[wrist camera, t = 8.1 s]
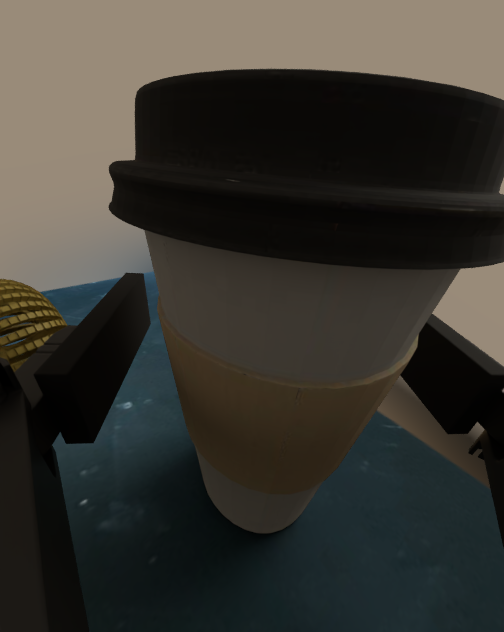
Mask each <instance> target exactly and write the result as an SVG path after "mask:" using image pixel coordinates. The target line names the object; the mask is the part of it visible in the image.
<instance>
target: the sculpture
mask: <svg viewBox="0 0 504 632" xmlns="http://www.w3.org/2000/svg"><path fill="white" fill-rule="evenodd" d="M0 309H1V310H0V318H1V317H4V316H11V315H17V316H14V317H9V318H7V319H6V318H4V319H1V320H0V334H1V335H0V336H3V335H6V334H8V335H7V337H6V336H4V337H3V338H2V337H1V338H0V357H1V358H4V359H7V360H8V362H9V364H10V365H11V367H12V369H13V371H14V372H15V371H16V370H17V369H18V368H19V367H20V366H21V365H22V364H23V363H24V362H25V361H26V360H27V359H28V358H29V357H30V356H31V355H32V354H33V353H36V350H37V349H38V348H39V347H40V346H41V345H44V342H45V341H47V340H48V339H49V338H50V337H51V336H52V335H53V334H54V333H55V332H57V331H59V330H61V329H63V328H64V327H66V326H67V324H66V322H64V319H63V318H62V316H60V313H59V312H58V311H57V309H56V308H55V307H54V306H53V304H52V303H51V302H49V300H48V299H47V298H45V297H44V296H43V295H42V294H41V293H40V292H38V291H36V290H35V289H33V288H32V287H29V286H28V285H25V284H23V283H19V282H16V281H13V280H6V279H0ZM23 322H24V323H26V322H28V323H29V324H22V323H23ZM31 323H34V324H31ZM10 324H11V325H10ZM17 324H18V325H17ZM19 324H22V325H19ZM14 325H15V326H14ZM16 325H17V326H16ZM20 330H21V331H20ZM15 331H16V332H17V331H18V332H17V334H16V332H15ZM13 332H14V333H13ZM9 333H11V334H10V335H9ZM12 333H13V334H12ZM24 338H25V340H23V341H21V342H19V343H17V344H13V345H10V346H5V345H7V344H10V343H13V342H16V341H19V340H22V339H24ZM26 338H27V339H26ZM2 346H3V347H2ZM22 354H23V355H22ZM18 356H19V357H18ZM26 358H27V359H26ZM24 359H25V360H24ZM16 360H17V361H16Z"/></svg>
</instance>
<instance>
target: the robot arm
mask: <svg viewBox="0 0 504 632" xmlns="http://www.w3.org/2000/svg"><path fill="white" fill-rule="evenodd" d="M150 324H151V323H150V316H149V309H148V302H147V295H146V288H145V281H144V274H142V273H126V274H125V275H124V276H123V277H122V278H121V279H120V280H119V281H118V282H117V283H116V284H115V286H114V287H113V288H112V289H111V290H110V291H109V292H108V293H107V294H106V295H105V296H104V298H103V299H102V300H101V301H100V302H99V303H98V304H97V305H96V306H95V307H94V308H93V310H92V311H91V312H90V313H89V314H88V315H87V316H86V317H85V318H84V319H83V321H82V322H81V323H80V324H79V325H78V326H71V325H68V326H66V327H64V328H63V329H61V330H59V331H57V332H55V333H54V334H53V335H52V336H51V337H50V338H49V339H48V340H47V341H45V342H44V345H41V346H40V347H39V348H38V349H37V350H36V353H33V354H32V355H31V356H30V357H29V358H28V359H27V360H26V361H25V362H24V363H23V364H22V365H21V366H20V367H19V368H18V369H17V370H16V371H15V372H14V371H13V369H12V367H11V365H10V364H9V362H8V360H7V359H4V358H1V357H0V632H89V627H88V622H87V617H86V611H85V606H84V601H83V595H82V590H81V585H80V579H79V574H78V569H77V563H76V558H75V553H74V547H73V542H72V537H71V531H70V526H69V521H68V515H67V510H66V505H65V499H64V494H63V489H62V483H61V478H60V473H59V467H58V462H57V457H56V452H55V450H54V448H53V446H52V444H53V442H54V441H55V439H56V437H57V436H58V434H59V433H60V432H61V434H62V436H63V438H64V440H65V443H66V444H77V443H94V441H95V439H96V437H97V435H98V433H99V431H100V429H101V426H102V424H103V422H104V420H105V418H106V416H107V414H108V412H109V410H110V408H111V406H112V403H113V401H114V399H115V397H116V395H117V393H118V391H119V389H120V387H121V385H122V382H123V380H124V378H125V376H126V374H127V372H128V370H129V368H130V366H131V364H132V362H133V359H134V357H135V355H136V353H137V351H138V349H139V347H140V345H141V343H142V341H143V339H144V336H145V334H146V332H147V330H148V328H149V326H150ZM400 375H401V377H402V378H403V379H404V380H405V382H406V383H407V384H408V385H409V387H410V388H411V389H412V390H413V392H414V393H415V394H416V395H417V396H418V398H419V399H420V400H421V401H422V403H423V404H424V405H425V406H426V408H427V409H428V410H429V411H430V413H431V414H432V415H433V416H434V418H435V419H436V420H437V421H438V423H439V424H440V425H441V426H442V428H443V429H444V430H445V431H446V432H447V434H468V433H469V431H470V430H471V429H472V428H473V426H474V425H475V424H476V423H477V422H478V423H479V424H480V425H481V426H482V427H483V428H484V429H485V430H484V431H483V433H482V434H481V435H480V436H479V437H478V439H477V440H476V441H475V442H474V443H473V445H472V446H471V447H470V448H469V454H471V455H473V453H474V452H475V451H476V450H477V449H482V452H481V453H480V455H479V456H478V457H479V458H481V459H483V460H484V461H485V465H486V470H487V474H488V479H489V484H490V488H491V493H492V497H493V502H494V506H495V511H496V515H497V520H498V524H499V529H500V534H501V538H502V543H503V547H504V367H503V366H502V365H501V364H499V363H498V362H497V361H495V360H494V359H493V358H491V357H489V356H488V355H487V354H486V353H485V352H483V351H482V350H480V349H479V348H478V347H477V346H475V345H474V344H473V343H471V342H470V341H469V340H467V339H465V338H464V337H463V336H461V335H460V334H459V333H457V332H456V331H455V330H453V329H452V328H451V327H449V326H448V325H447V324H445V323H444V322H443V321H441V320H440V319H439V318H437V317H436V316H434V315H433V314H431V315H430V317H429V318H428V320H427V322H426V323H425V325H424V326H423V328H422V329H421V331H420V332H419V336H418V345H417V348H416V350H415V352H414V354H413V355H412V357H411V359H410V361H409V362H408V364H407V366H406V367H405V369H404V370H403V371H402V373H401V374H400Z"/></svg>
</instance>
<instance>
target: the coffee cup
mask: <svg viewBox="0 0 504 632" xmlns="http://www.w3.org/2000/svg"><path fill="white" fill-rule="evenodd" d="M135 145H136V146H135V147H136V148H135V149H136V155H135V160H130V161H116V162H113V163H112V164H111V165H110V166H109V173H110V175H111V178H112V180H113V182H114V191H113V196H112V202H111V203H110V204H109V210H110V211H111V213H112V214H113V215H115V216H116V217H117V218H119V219H121V220H122V221H125V222H126V223H128V224H131V225H133V226H136V227H138V228H141V229H143V230H145V234H146V239H147V243H148V247H149V252H150V256H151V260H152V264H153V269H154V273H155V277H156V282H157V286H158V290H159V297H158V307H157V310H158V315H159V319H160V323H161V327H162V331H163V335H164V339H165V343H166V347H167V351H168V355H169V359H170V363H171V367H172V371H173V375H174V379H175V383H176V387H177V391H178V395H179V399H180V403H181V407H182V411H183V415H184V419H185V423H186V426H187V429H188V432H189V435H190V438H191V440H192V441H193V443H194V445H195V448H196V452H197V456H198V460H199V464H200V468H201V472H202V476H203V481H204V484H205V487H206V490H207V493H208V495H209V497H210V498H211V500H212V502H213V504H214V505H215V506H216V507H217V509H218V510H219V511H220V512H221V513H222V515H224V516H225V517H226V518H227V519H228V520H230V521H231V522H232V523H233V524H235V525H237V526H239V527H241V528H243V529H244V530H248V531H251V532H255V533H273V532H276V531H279V530H282V529H284V528H285V527H287V526H289V525H290V524H292V523H293V522H294V521H295V520H296V519H297V518H298V517H299V516H300V515H301V514H302V512H303V511H304V509H305V508H306V506H307V505H308V503H309V502H310V500H311V499H312V497H313V496H314V494H315V493H316V491H317V490H318V488H319V487H320V485H321V484H322V482H323V481H324V480H326V479H327V478H328V477H329V476H330V475H331V474H332V473H333V472H334V471H335V470H336V469H337V468H338V466H339V465H340V463H341V462H342V460H343V459H344V457H345V456H346V454H347V453H348V451H349V450H350V448H351V447H352V446H353V444H354V443H355V441H356V440H357V438H358V437H359V435H360V434H361V432H362V431H363V429H364V428H365V426H366V425H367V423H368V422H369V420H370V419H371V417H372V416H373V414H374V413H375V411H376V410H377V408H378V407H379V406H380V404H381V403H382V401H383V400H384V398H385V397H386V395H387V394H388V392H389V391H390V389H391V388H392V386H393V385H394V383H395V382H396V380H397V379H398V377H399V376H400V374H401V373H402V371H403V370H404V369H405V367H406V366H407V364H408V362H409V361H410V359H411V357H412V355H413V354H414V352H415V350H416V348H417V345H418V336H419V332H420V331H421V329H422V328H423V326H424V325H425V323H426V322H427V320H428V318H429V317H430V315H431V314H432V312H433V311H434V309H435V308H436V306H437V305H438V303H439V301H440V300H441V298H442V297H443V295H444V294H445V292H446V291H447V289H448V287H449V286H450V284H451V283H452V281H453V280H454V278H455V276H456V275H457V273H458V272H459V270H460V269H461V268H475V267H482V266H489V265H494V264H497V263H502V262H504V195H503V194H500V193H499V190H500V186H501V183H502V181H503V178H504V100H502V99H499V98H496V97H493V96H490V95H487V94H484V93H480V92H476V91H472V90H469V89H465V88H461V87H457V86H453V85H447V84H441V83H435V82H429V81H424V80H418V79H412V78H405V77H397V76H388V75H378V74H369V73H359V72H344V71H328V70H312V69H243V70H223V71H213V72H212V71H211V72H200V73H192V74H185V75H179V76H173V77H168V78H164V79H160V80H157V81H154V82H151V83H149V84H146V85H144V86H143V87H141V88H140V89H139V90H138V91H137V94H136V98H135Z"/></svg>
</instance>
